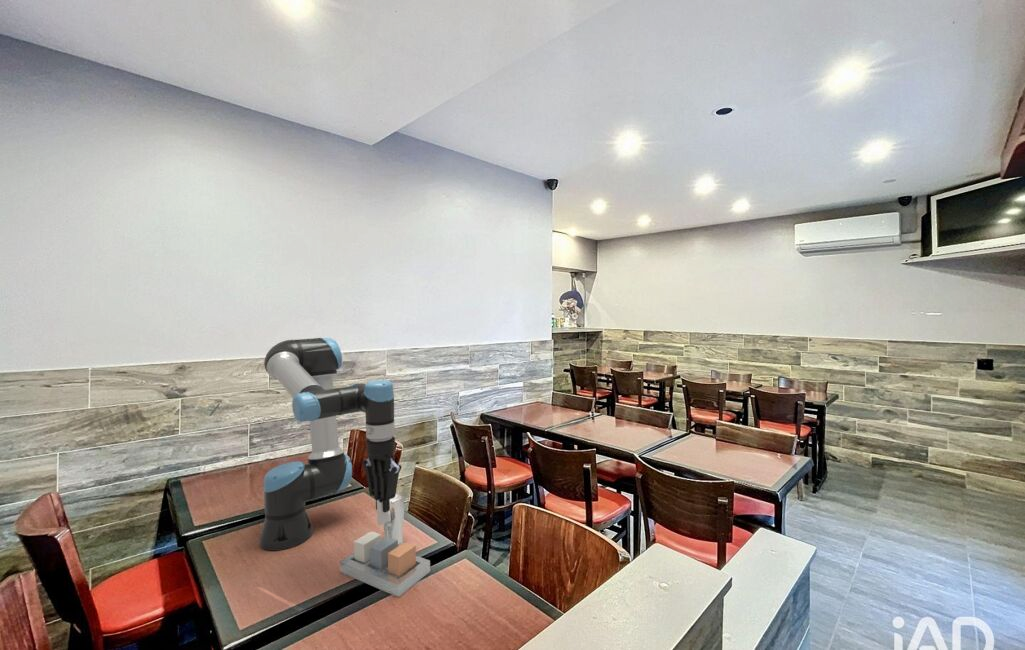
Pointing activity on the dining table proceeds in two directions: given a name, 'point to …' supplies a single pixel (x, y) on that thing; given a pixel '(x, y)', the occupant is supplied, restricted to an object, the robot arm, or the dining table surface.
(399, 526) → the beer glass
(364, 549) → the cream block
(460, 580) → the dining table surface
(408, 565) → the orange block
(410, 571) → the grey tray
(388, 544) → the slate key
